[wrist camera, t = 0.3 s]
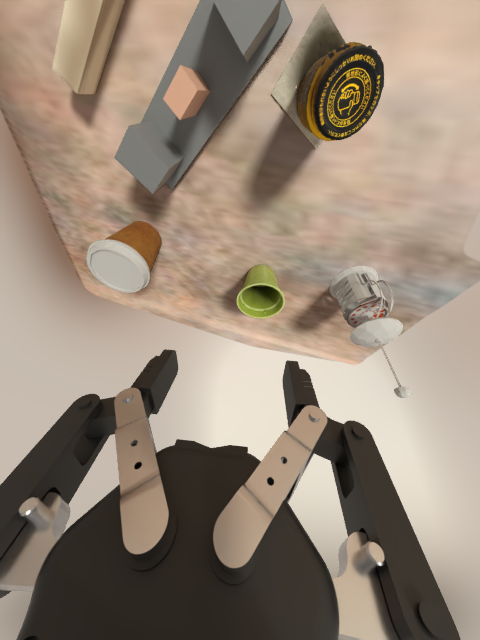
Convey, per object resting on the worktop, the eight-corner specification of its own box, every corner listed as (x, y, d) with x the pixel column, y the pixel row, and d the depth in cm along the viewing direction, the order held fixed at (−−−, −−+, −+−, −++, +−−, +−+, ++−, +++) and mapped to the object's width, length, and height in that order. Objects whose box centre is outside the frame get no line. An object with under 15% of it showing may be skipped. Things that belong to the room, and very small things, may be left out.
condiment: (315, 148, 28) (336, 170, 20) (271, 93, 24) (274, 93, 16) (367, 83, 23) (421, 77, 15) (322, 4, 20) (360, -57, 12)
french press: (323, 300, 48) (354, 406, 32) (340, 257, 39) (395, 373, 23) (365, 301, 47) (419, 411, 31) (392, 258, 39) (487, 378, 22)
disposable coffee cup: (145, 202, 35) (110, 234, 27) (179, 249, 41) (158, 286, 33) (109, 224, 38) (69, 257, 30) (145, 264, 45) (120, 300, 37)
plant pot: (279, 293, 48) (281, 319, 42) (240, 291, 48) (237, 317, 43) (285, 258, 41) (288, 284, 35) (239, 256, 41) (235, 282, 36)
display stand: (133, 145, 29) (102, 157, 23) (247, -84, 17) (238, -172, 11) (174, 186, 33) (155, 205, 27) (291, 23, 21) (301, -4, 15)
